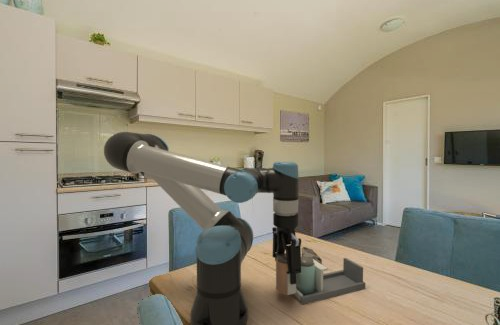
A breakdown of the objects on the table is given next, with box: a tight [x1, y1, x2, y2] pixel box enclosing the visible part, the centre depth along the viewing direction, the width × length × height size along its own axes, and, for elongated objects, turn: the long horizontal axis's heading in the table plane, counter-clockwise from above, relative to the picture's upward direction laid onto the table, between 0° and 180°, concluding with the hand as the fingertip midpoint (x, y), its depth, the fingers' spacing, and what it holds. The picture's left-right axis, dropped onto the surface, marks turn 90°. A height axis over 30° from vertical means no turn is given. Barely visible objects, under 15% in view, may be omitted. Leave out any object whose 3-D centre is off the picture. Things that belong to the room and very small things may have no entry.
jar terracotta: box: [275, 252, 288, 295], centre depth 77 cm, size 6×6×10 cm
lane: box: [291, 257, 366, 305], centre depth 82 cm, size 24×10×7 cm, turn 111°
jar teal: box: [296, 256, 315, 296], centre depth 80 cm, size 6×6×10 cm
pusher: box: [313, 259, 328, 292], centre depth 81 cm, size 2×7×8 cm, turn 21°
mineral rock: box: [301, 246, 323, 265], centre depth 101 cm, size 15×8×4 cm, turn 169°
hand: (285, 287), depth 77 cm, fingers closed on jar terracotta, 6 cm apart
